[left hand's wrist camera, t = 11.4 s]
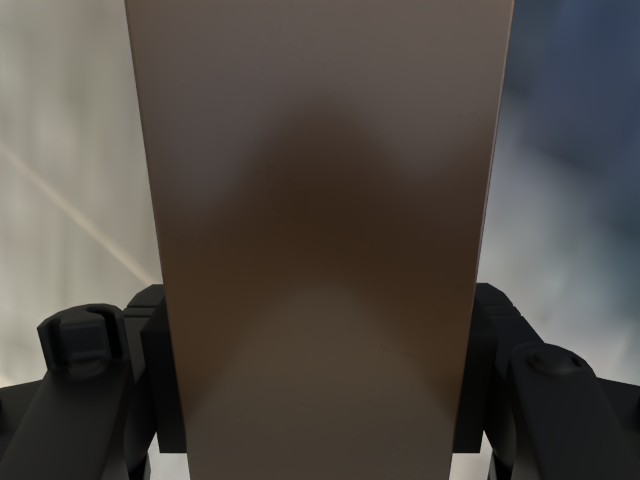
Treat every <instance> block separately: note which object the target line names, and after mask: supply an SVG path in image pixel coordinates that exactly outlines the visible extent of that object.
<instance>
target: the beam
mask: <svg viewBox="0 0 640 480" xmlns="http://www.w3.org/2000/svg"><path fill="white" fill-rule="evenodd" d="M124 2H125V9H126V16H127V23H128V31H129V38H130V45H131V52H132V60H133V67H134V74H135V81H136V89H137V96H138V103H139V110H140V118H141V125H142V132H143V139H144V147H145V154H146V161H147V168H148V176H149V183H150V190H151V197H152V205H153V212H154V219H155V226H156V234H157V241H158V248H159V255H160V263H161V270H162V277H163V284H164V292H165V299H166V306H167V313H168V321H169V328H170V335H171V342H172V350H173V357H174V364H175V371H176V379H177V386H178V393H179V400H180V408H181V415H182V422H183V429H184V437H185V444H186V451H187V458H188V466H189V473H190V480H449V476H450V469H451V461H452V454H453V447H454V440H455V432H456V425H457V418H458V411H459V403H460V396H461V389H462V382H463V374H464V367H465V360H466V353H467V345H468V338H469V331H470V324H471V316H472V309H473V302H474V295H475V287H476V280H477V273H478V266H479V258H480V251H481V244H482V237H483V229H484V222H485V215H486V207H487V200H488V193H489V186H490V178H491V171H492V164H493V157H494V149H495V142H496V135H497V128H498V120H499V113H500V106H501V99H502V91H503V84H504V77H505V70H506V62H507V55H508V48H509V41H510V33H511V26H512V19H513V12H514V4H515V0H124Z"/></svg>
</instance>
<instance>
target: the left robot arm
mask: <svg viewBox="0 0 640 480" xmlns="http://www.w3.org/2000/svg"><path fill="white" fill-rule="evenodd" d="M37 331H38V335H39V339H40V342H41V346H42V350H43V354H44V358H45V361H46V365H47V369H48V370H47V372H46V374H45V376H44V378H43V379H42V380H38V381H34V382H29V383H24V384H19V385H14V386H9V387H4V388H0V480H150V473H151V469H150V461H149V455H148V449H149V446H150V444H151V442H152V440H153V437H154V435H155V433H157V439H158V444H159V450H160V453H187V451H186V444H185V437H184V429H183V422H182V415H181V408H180V400H179V393H178V386H177V379H176V371H175V364H174V357H173V350H172V342H171V335H170V328H169V321H168V313H167V306H166V299H165V292H164V284H152V285H151V286H149V287H147V288H146V289H144V290H142V291H141V292H139V293H137V294H136V295H135V296H134V298H133V299H132V300H131V301H130V303H129V304H128V305H127V308H125V309H124V310H123V311H122V310H121V309H119V308H118V307H117V306H114V305H109V304H86V305H81V306H75V307H72V308H69V309H66V310H63V311H60V312H58V313H56V314H54V315H52V316H51V317H49V318H47V319H45V320H44V321H43V322H42V323H41V324H40V325H39V326H38V327H37ZM483 431H485V433H486V436H487V438H488V440H489V442H490V445H491V447H492V449H493V450H492V455H491V461H490V467H489V472H488V478H487V480H640V386H637V385H632V384H627V383H621V382H616V381H611V380H606V379H602V378H598V377H596V375H595V373H594V371H593V369H592V368H591V367H590V366H589V365H588V363H587V362H586V361H585V360H584V359H582V358H581V357H579V356H578V355H576V354H575V353H573V352H572V351H569V350H567V349H564V348H562V347H559V346H556V345H552V344H547V343H544V342H543V340H542V339H541V338H540V337H539V335H538V334H537V333H536V332H535V330H534V329H533V328H532V327H531V326H530V324H529V323H528V322H527V321H526V319H525V318H524V317H523V316H521V313H520V312H519V311H518V310H517V308H516V307H515V306H513V303H512V302H511V301H510V300H509V299H508V297H507V296H506V295H505V294H504V293H503V292H502V291H500V290H498V289H497V288H495V287H493V286H492V285H490V284H488V283H476V287H475V295H474V302H473V309H472V316H471V324H470V331H469V338H468V345H467V353H466V360H465V367H464V374H463V382H462V389H461V396H460V403H459V411H458V418H457V425H456V432H455V440H454V447H453V453H480V449H481V443H482V437H483Z"/></svg>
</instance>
